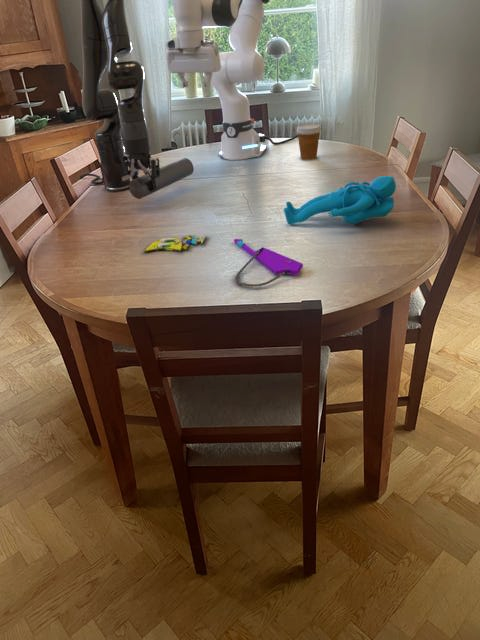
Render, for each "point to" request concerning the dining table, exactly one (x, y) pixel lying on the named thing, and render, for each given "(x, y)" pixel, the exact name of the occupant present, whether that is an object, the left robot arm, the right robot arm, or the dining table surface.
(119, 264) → the dining table surface
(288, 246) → the dining table surface
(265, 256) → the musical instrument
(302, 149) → the cup of beer
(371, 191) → the toy
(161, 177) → the rod
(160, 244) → the toy
